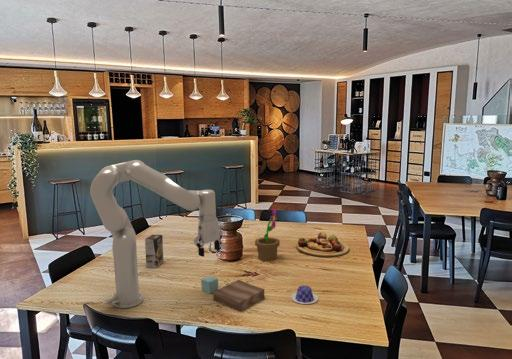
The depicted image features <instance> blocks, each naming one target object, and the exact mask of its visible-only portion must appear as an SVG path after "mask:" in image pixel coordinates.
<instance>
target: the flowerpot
mask: <svg viewBox="0 0 512 359" xmlns="http://www.w3.org/2000/svg"><path fill="white" fill-rule="evenodd" d="M271 212H272V214H271V215H272V216H270V219H269V222H268V223H267V227H266V233H264V235H263V236H264V237H259V238H257V239H255V241H254V245H255V247H257V248H256V249H257V256H258V260H259V261H262V262H272V261H276V260H277V256H278V255H277V254H278V247H280V239H278V238H276V237H269V232H271V231H272V230H273V229H275V228H276V225H277V223H276V221H278V217H277V216H276V215H277V208H275V209H274V208H272V210H271Z"/></svg>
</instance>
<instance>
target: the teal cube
mask: <svg viewBox="0 0 512 359" xmlns="http://www.w3.org/2000/svg"><path fill="white" fill-rule="evenodd" d="M200 282H201V284H200V285H201V291H203V292H204V293H208V294H212V293H213V292H214V291H216V290H218V289H219V278H218V277H215V276H212V275H208V276H206V277H204V278H201V279H200Z"/></svg>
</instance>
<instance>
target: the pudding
mask: <svg viewBox="0 0 512 359" xmlns="http://www.w3.org/2000/svg"><path fill="white" fill-rule="evenodd" d="M290 299H291V300H292V301H294V302H295V303H298V304H302V305H303V304H304V305H310V304H314V303H316V302H318V301H319V296H318V295H317V294H316V293H314V292H313V290H312V288H311V287H310V286H308V285H300V286H298V288H297V291H296V292H294V293H292V294H291V295H290Z"/></svg>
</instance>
